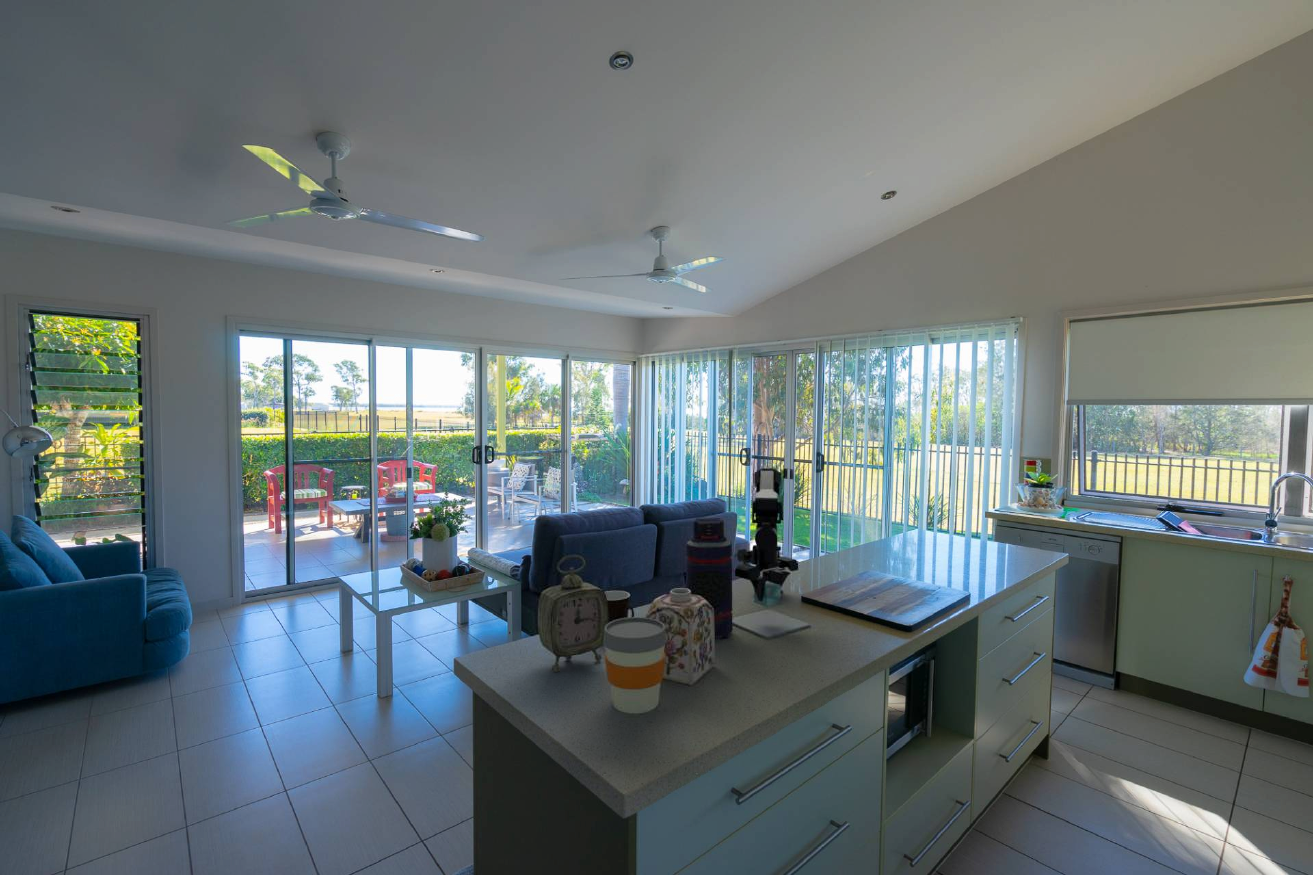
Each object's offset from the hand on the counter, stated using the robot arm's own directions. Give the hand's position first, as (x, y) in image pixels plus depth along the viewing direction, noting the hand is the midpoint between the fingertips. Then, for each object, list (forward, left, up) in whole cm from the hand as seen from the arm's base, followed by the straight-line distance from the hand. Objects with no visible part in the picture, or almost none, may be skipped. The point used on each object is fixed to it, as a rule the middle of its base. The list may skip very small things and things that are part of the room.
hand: (767, 599), depth 160 cm
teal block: (0, 0, -1) cm, 1 cm away
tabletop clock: (+55, -7, -7) cm, 56 cm away
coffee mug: (+38, -17, -7) cm, 42 cm away
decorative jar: (+37, +11, -7) cm, 39 cm away
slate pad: (0, 0, -7) cm, 7 cm away
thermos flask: (+17, -4, -7) cm, 19 cm away
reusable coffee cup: (+53, +18, -7) cm, 57 cm away
